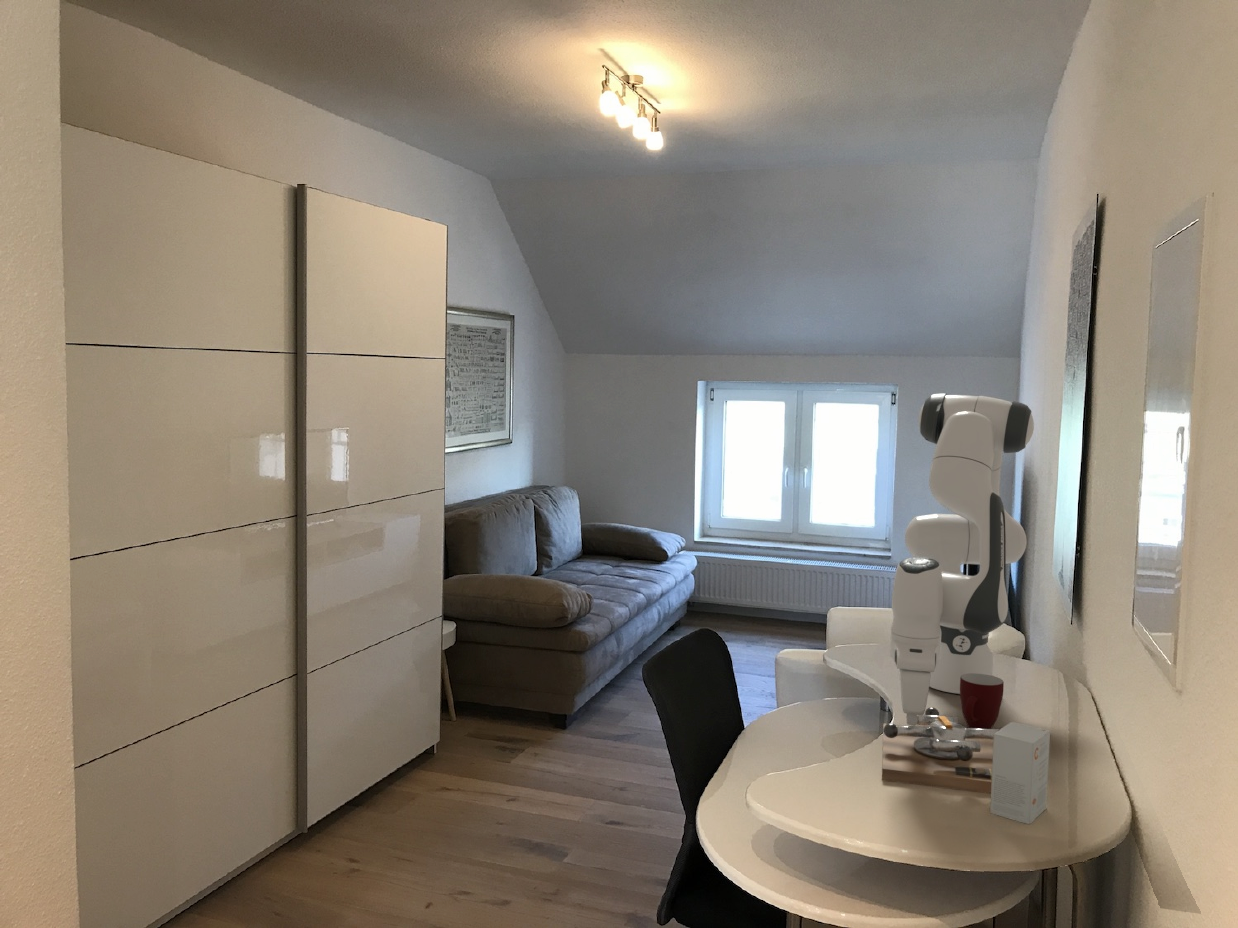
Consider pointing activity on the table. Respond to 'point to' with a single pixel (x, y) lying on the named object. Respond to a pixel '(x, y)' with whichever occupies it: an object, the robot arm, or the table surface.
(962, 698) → the mug
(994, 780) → the small box
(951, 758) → the capstan
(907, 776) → the cutting board
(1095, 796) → the table surface
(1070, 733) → the table surface
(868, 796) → the table surface
